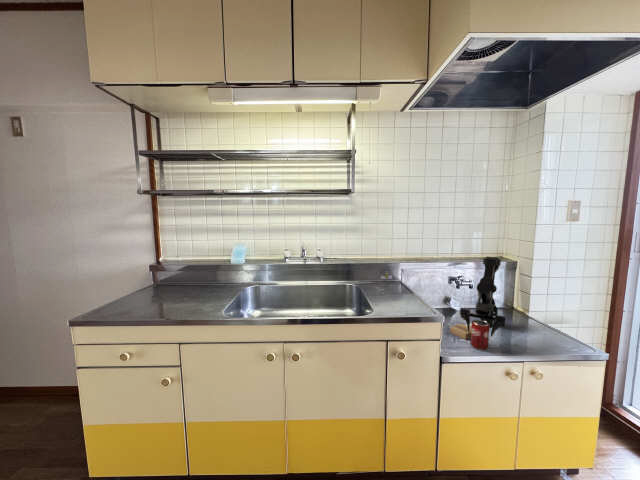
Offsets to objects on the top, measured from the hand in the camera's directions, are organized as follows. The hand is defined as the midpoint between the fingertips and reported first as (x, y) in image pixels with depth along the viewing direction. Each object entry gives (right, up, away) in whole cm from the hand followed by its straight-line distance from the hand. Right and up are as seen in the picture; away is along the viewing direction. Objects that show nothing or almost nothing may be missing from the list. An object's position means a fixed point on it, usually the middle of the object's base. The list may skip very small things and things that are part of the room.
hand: (479, 333), depth 127 cm
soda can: (+1, -7, +2) cm, 7 cm away
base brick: (0, -5, +15) cm, 16 cm away
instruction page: (+8, -4, +22) cm, 23 cm away
